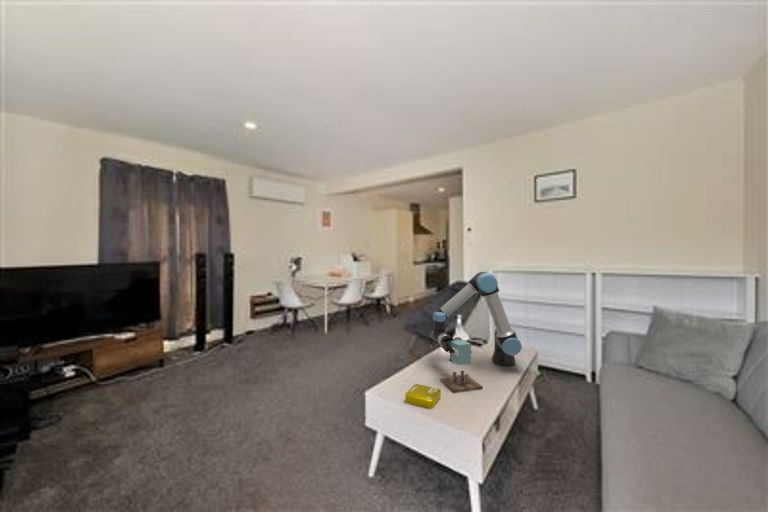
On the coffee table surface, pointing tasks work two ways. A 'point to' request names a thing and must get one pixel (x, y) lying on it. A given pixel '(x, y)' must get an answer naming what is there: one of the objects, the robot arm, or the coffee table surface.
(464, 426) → the coffee table surface
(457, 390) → the peg board
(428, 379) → the coffee table surface
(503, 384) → the coffee table surface
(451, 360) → the figurine
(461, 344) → the teal block
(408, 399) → the element tile
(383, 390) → the coffee table surface
